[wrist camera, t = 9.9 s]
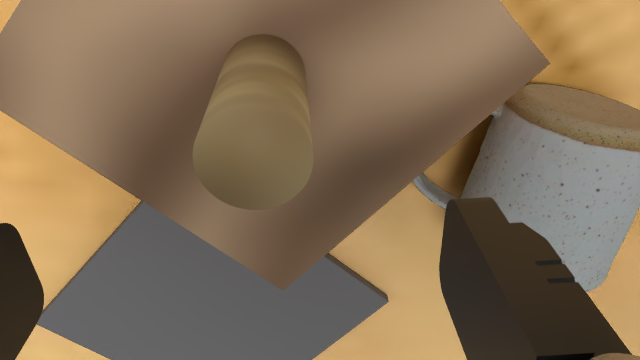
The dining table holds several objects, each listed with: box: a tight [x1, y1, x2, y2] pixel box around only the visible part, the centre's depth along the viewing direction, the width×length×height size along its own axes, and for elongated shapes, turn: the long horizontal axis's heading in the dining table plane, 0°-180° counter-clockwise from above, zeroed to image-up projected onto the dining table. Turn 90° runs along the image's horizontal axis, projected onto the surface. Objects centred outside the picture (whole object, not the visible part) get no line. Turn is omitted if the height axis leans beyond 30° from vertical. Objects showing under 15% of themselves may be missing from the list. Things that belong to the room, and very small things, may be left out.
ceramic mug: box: [413, 84, 640, 292], centre depth 23 cm, size 11×8×8 cm
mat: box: [37, 201, 389, 360], centre depth 31 cm, size 16×16×1 cm
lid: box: [0, 0, 550, 290], centre depth 14 cm, size 14×14×7 cm
